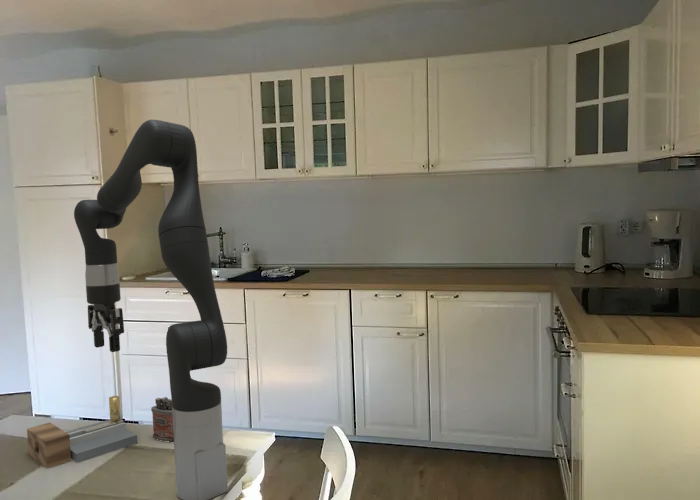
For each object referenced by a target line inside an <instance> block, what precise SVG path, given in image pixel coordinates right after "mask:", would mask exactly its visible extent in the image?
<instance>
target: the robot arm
mask: <svg viewBox="0 0 700 500" xmlns="http://www.w3.org/2000/svg"><path fill="white" fill-rule="evenodd" d="M195 139H196V138H195V136H194V134H193V131H192V130H191V129H190V128H189V127H188V126H186V125H183V124H180V123H174V122H169V121H164V120H159V119H148V120H145V121H144V122H143V123H142V124H141V125H140V126H139V127H138V128H137V130H136V132H135V134H133V137H132V139H131V141H130V142H129V145H127V148H126V150H125V152H124V153H123V156H122V157H121V160H120V162H119V164H118V165H117V168H116V169H115V171H114V172H113V173H112V175H111V176H110V177H109V178H108V179H107V180H106V181H105V182H104V184H103V185H102V186H101V187H100V189H99V190H98V191H97V195H96V199H82V200H80V201H79V202H78V203H76V205H75V206H74V210H73V211H74V212H73V218H74V221H75V225H76V227H77V229H78V232H79V235H80V237H81V241H82V245H83V248H84V257H85V260H84V261H85V273H84V274H85V275H84V276H85V277H84V278H85V294H86V303H87V304H88V305H87V322H88V323H87V326H88V329H89V330H91V332H92V333H93V345H94V347H95V348H102V347H104V346H105V332H104V329H105V330H106V331H107V332H106V333H107V334H108V342H109V344H108V345H109V352H110V353H115V352H119V351H120V350H121V344H120V343H121V341H120V336H121V334H124V333H125V327H124V326H125V324H124V314H123V308H122V307H118V308H116V304H115V303H117V302H120V301H121V299H122V298H121V285H120V284H121V281H120V271H119V265H118V253H117V252H118V251H117V243H116V242H115V240H113V239H111V238H103V237H101V235H99V232H98V230H106V229H108V230H109V229H114V228H116V227H118V226H120V225H121V224H122V222H123V219H124V216H125V213H126V211H127V208H128V207H129V206H130V205H131V204H132V203H133V202H134V201H135V200H136V199H137V197H138V196H139V194H140V192H141V190H142V185H143V183H142V174H141V170H142V169H143V168H144V167H146V166H148V165H152V166H158V167H163V168H164V167H165V168H170V169H171V171H172V176H173V192H172V195H171V197H170V199H169V201H168V203H167V205H166V207H165V209H164V211H163V212H162V215H161V217H160V220H159V223H158V227H157V228H158V230H157V232H158V240H159V247H160V248H159V249H160V253H161V258H162V261H163V263H164V264H165V266H166V268H167V269H168V271H169V272H170V273H171V274H172V275H173V276H174V277H175V278H176V279H177V281H178V282H179V283H180V284H181V285H182V286H183V287H184V289H186V291H187V292H188V293H189V295H190V296H191V298H192V300H193V303H195V306H196V308H197V310H198V314H199V316H200V320H194V321H186V322H179V323H175V324H171V325H170V326H169V327H168V329H167V332H166V337H165V346H166V347H165V348H166V357H167V364H168V373H169V374H168V376H169V387H170V389H169V390H170V396H171V398H170V399H172V414H173V434H174V443H173V448H174V449H173V451H174V466H175V467H174V468H175V483H176V484H175V485H176V495H177V497H178V498H179V499H181V500H211V499H213V498H216V497H217V496H220V495H222V494H224V493H226V492H228V489H229V488H228V471H227V453H226V452H227V447H226V444H225V443H224V435H223V434H224V432H223V430H224V429H223V410H222V409H223V408H222V392H221V388H220V387H219V386H218V385H216V384H214V383H211V382H208V381H207V382H205V381H199V380H195V379H194V378H192V377H191V371H196V370H202V369H207V368H208V369H209V368H214V367H218V366H222V365H223V364H224V363H225V362H226V360H227V357H228V341H227V333H226V329H225V326H224V321H223V317H222V313H221V308H220V304H219V300H218V297H217V293H216V287H215V282H214V277H213V276H214V275H213V271H212V270H213V269H212V263H211V257H210V255H211V254H210V248H209V242H208V235H207V229H206V224H205V218H204V215H203V213H204V212H203V208H202V202H201V201H202V200H201V194H200V193H201V192H200V186H199V170H198V169H199V168H198V166H199V165H198V154H197V153H198V152H197V144H196V140H195Z"/></svg>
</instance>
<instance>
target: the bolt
mask: <svg viewBox="0 0 700 500" xmlns="http://www.w3.org/2000/svg"><path fill="white" fill-rule="evenodd" d="M120 398H121V397H120V396H119V395H112V396H110V397H108V405H109V407H108V408H109V421H110V422H107V423H104V424H100V425H97V426H93V427H90V428H86V429H83V434H86V433H89V432H93V431H96V430H100V429H103V428H107V427H110V426H113V425H117V424H120V423H124V420H123V419H122V416H121V415H122V414H121V403H120V402H121V401H120Z"/></svg>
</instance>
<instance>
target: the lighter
mask: <svg viewBox="0 0 700 500" xmlns="http://www.w3.org/2000/svg"><path fill="white" fill-rule="evenodd" d="M150 408H151V412H152V413H151V414H152V425H153V426H152V427H153V428H152V430H153V434H152V438H155V439H154V440H156V439H158V440H157V441H159V440H162V441H161V442H163V441H169V442H168V443H171V442H174V434H173V414H172V398H168V396H164V397H156V398H155V405H154V406H151V407H150Z"/></svg>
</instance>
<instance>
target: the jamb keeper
mask: <svg viewBox="0 0 700 500" xmlns="http://www.w3.org/2000/svg"><path fill="white" fill-rule="evenodd" d="M26 432H27V447H28V455H29V456H30V457H32V459H35V460H36V461H37V462H38V463H39V464H41V465H42V466H43V467H44V468H46V469H51V468H54V467H56V466H57V467H58V466H60V465H63V464H66V463H70V462H72V459H71V450H70V436H69V434H68V433H66V432H67V431H65V430H63V429H62V428H60V427H58V426H56V425H55V424H54V423H52V422H47V423H43V424H39V425H35V426H32V427H28V428H26Z"/></svg>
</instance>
